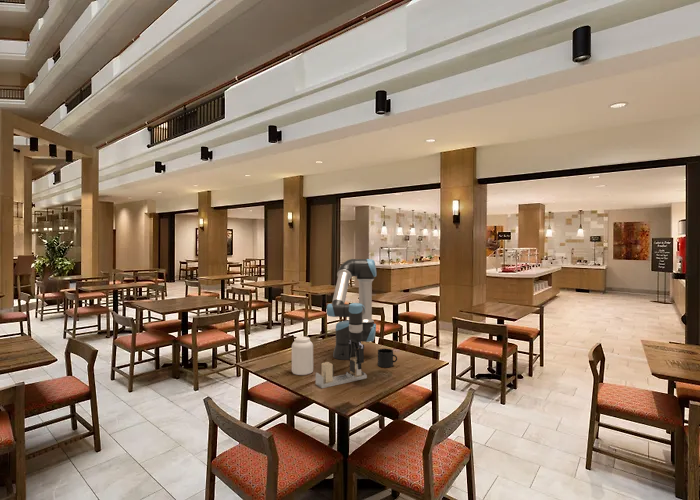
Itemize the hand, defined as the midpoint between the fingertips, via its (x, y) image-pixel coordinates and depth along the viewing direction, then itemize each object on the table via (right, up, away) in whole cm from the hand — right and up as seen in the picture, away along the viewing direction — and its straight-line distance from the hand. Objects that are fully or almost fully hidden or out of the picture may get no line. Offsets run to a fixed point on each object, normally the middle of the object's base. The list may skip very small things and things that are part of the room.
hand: (355, 373), depth 207 cm
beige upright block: (0, -1, 0) cm, 1 cm away
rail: (-8, -3, -5) cm, 9 cm away
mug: (+20, -3, +21) cm, 29 cm away
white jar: (-31, -3, +11) cm, 33 cm away
